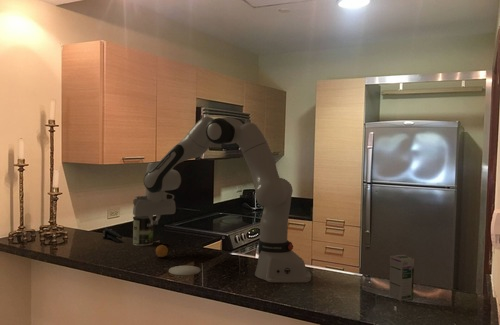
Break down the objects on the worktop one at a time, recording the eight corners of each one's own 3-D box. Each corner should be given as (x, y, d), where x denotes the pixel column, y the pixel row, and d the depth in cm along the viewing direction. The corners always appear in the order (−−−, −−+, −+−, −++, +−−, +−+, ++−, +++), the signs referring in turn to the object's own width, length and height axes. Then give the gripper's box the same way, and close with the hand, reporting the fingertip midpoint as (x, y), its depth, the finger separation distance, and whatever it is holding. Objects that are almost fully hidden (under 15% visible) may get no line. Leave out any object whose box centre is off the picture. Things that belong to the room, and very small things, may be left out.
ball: (169, 255, 189) (169, 244, 189) (165, 258, 183) (165, 246, 183) (157, 255, 189) (158, 243, 189) (153, 258, 184) (153, 246, 184)
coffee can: (156, 242, 215) (156, 215, 215) (147, 246, 205) (148, 218, 205) (138, 240, 217) (138, 214, 217) (128, 245, 207) (129, 217, 207)
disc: (203, 267, 172) (203, 266, 172) (196, 276, 159) (196, 275, 159) (174, 265, 174) (174, 264, 174) (164, 274, 161) (164, 273, 161)
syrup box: (400, 301, 138) (402, 259, 138) (388, 295, 144) (390, 255, 143) (413, 299, 141) (415, 257, 140) (400, 293, 146) (402, 253, 146)
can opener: (99, 238, 222) (99, 228, 222) (111, 236, 227) (112, 226, 227) (114, 244, 209) (114, 233, 209) (126, 242, 214) (126, 231, 214)
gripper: (135, 197, 184) (135, 227, 185) (177, 195, 196) (176, 223, 197) (131, 195, 189) (130, 224, 190) (172, 194, 201) (171, 221, 202)
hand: (154, 224), depth 193 cm, fingers closed
